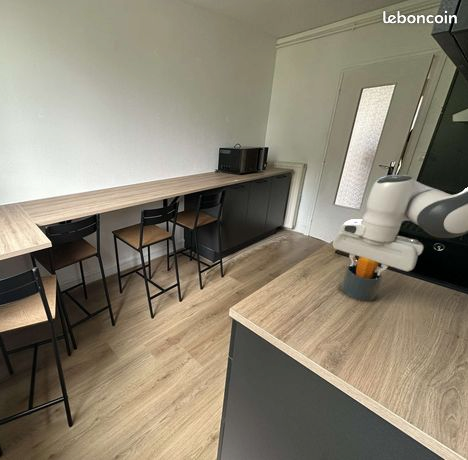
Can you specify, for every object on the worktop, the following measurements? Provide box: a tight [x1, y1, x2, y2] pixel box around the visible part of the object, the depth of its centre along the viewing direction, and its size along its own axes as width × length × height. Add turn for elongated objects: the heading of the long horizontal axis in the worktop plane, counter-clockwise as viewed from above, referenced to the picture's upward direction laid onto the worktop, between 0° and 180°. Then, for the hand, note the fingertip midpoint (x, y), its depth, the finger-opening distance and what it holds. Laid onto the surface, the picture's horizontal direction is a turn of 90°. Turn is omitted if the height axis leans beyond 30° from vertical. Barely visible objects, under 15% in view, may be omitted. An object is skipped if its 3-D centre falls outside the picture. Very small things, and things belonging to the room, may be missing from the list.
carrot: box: [356, 256, 380, 279], centre depth 79 cm, size 5×5×15 cm
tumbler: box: [340, 264, 383, 302], centre depth 82 cm, size 9×9×8 cm
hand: (365, 270), depth 80 cm, fingers closed on carrot, 5 cm apart
